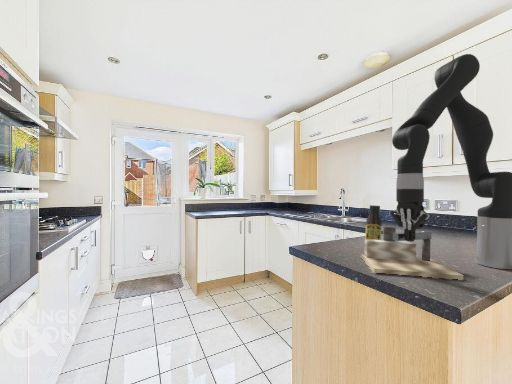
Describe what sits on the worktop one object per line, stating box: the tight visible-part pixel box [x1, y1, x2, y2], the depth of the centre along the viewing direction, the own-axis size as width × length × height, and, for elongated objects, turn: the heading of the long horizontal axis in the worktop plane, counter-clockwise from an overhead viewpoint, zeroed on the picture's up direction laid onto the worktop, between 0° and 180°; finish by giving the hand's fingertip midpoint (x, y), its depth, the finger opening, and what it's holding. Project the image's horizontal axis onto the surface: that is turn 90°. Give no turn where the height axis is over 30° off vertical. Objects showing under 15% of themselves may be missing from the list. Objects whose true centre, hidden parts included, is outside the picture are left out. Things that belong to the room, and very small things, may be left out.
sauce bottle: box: [364, 204, 383, 240], centre depth 104 cm, size 6×6×20 cm
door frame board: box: [360, 226, 464, 281], centre depth 80 cm, size 24×18×12 cm
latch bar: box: [393, 230, 432, 241], centre depth 82 cm, size 16×3×2 cm, turn 110°
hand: (409, 241), depth 77 cm, fingers closed
